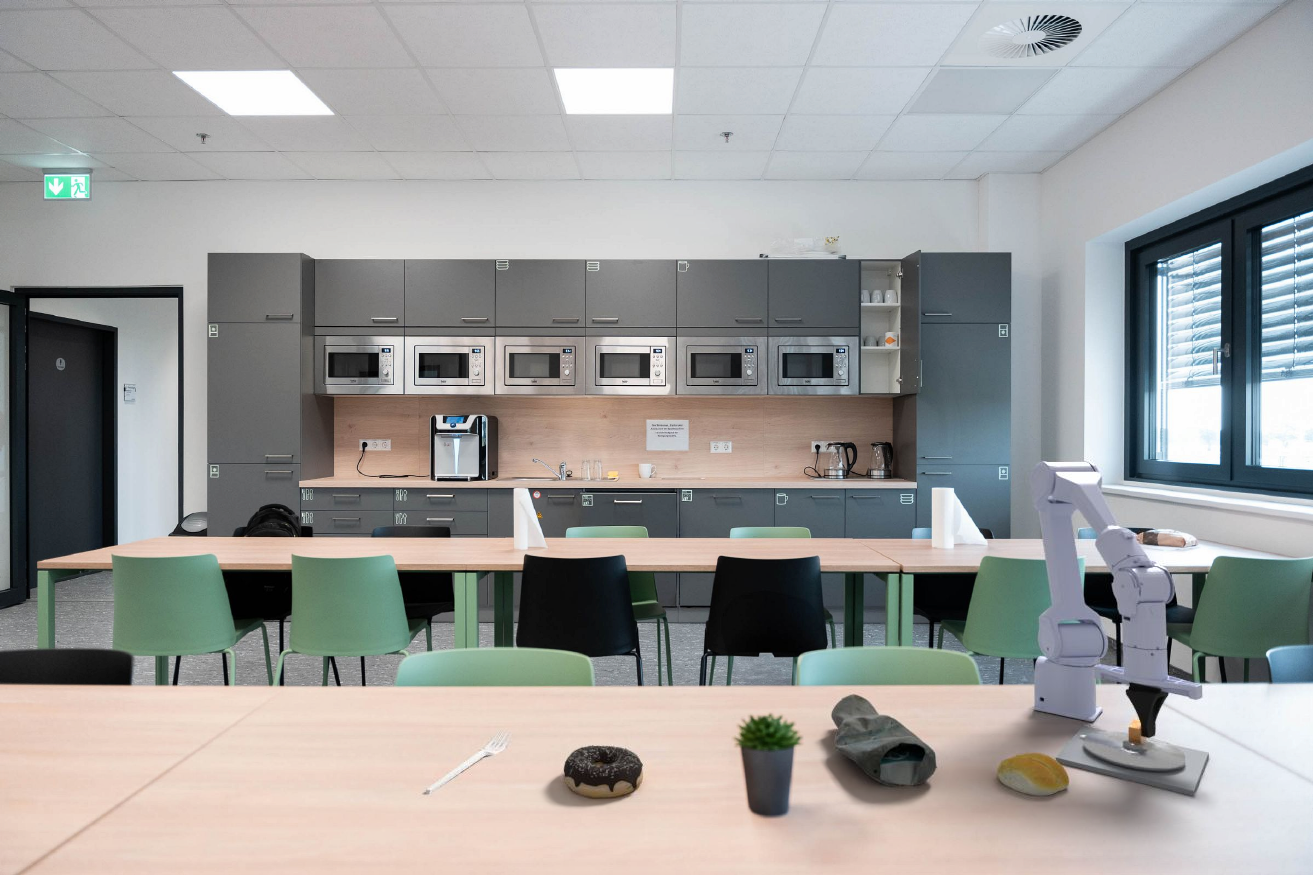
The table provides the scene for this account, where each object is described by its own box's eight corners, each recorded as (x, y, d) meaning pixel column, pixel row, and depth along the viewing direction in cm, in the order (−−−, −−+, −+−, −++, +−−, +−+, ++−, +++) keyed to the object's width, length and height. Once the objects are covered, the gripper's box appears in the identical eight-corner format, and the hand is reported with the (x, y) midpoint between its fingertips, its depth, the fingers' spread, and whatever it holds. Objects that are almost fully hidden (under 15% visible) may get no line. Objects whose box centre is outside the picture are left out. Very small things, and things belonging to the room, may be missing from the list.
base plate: (1055, 761, 116) (1055, 755, 116) (1083, 729, 129) (1083, 723, 129) (1193, 795, 105) (1193, 788, 105) (1208, 757, 117) (1208, 750, 117)
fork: (417, 794, 106) (417, 780, 106) (496, 741, 125) (496, 730, 125) (437, 798, 105) (437, 784, 105) (514, 744, 124) (514, 732, 124)
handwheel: (1178, 779, 107) (1178, 755, 107) (1074, 754, 116) (1074, 732, 116) (1190, 750, 117) (1190, 728, 117) (1093, 730, 126) (1093, 709, 126)
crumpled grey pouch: (951, 790, 107) (888, 720, 132) (947, 738, 106) (885, 678, 131) (857, 800, 106) (812, 728, 131) (852, 748, 106) (808, 686, 131)
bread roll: (1079, 786, 108) (1078, 757, 108) (1042, 803, 103) (1042, 772, 103) (1022, 765, 115) (1022, 738, 115) (986, 780, 110) (986, 752, 110)
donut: (582, 808, 102) (582, 778, 102) (551, 774, 112) (551, 746, 112) (657, 791, 107) (657, 762, 107) (620, 760, 117) (620, 733, 117)
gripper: (1210, 651, 115) (1213, 743, 115) (1108, 634, 128) (1111, 717, 127) (1188, 658, 112) (1192, 754, 111) (1086, 639, 124) (1088, 726, 123)
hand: (1147, 735), depth 119 cm, fingers closed, pressing on handwheel
